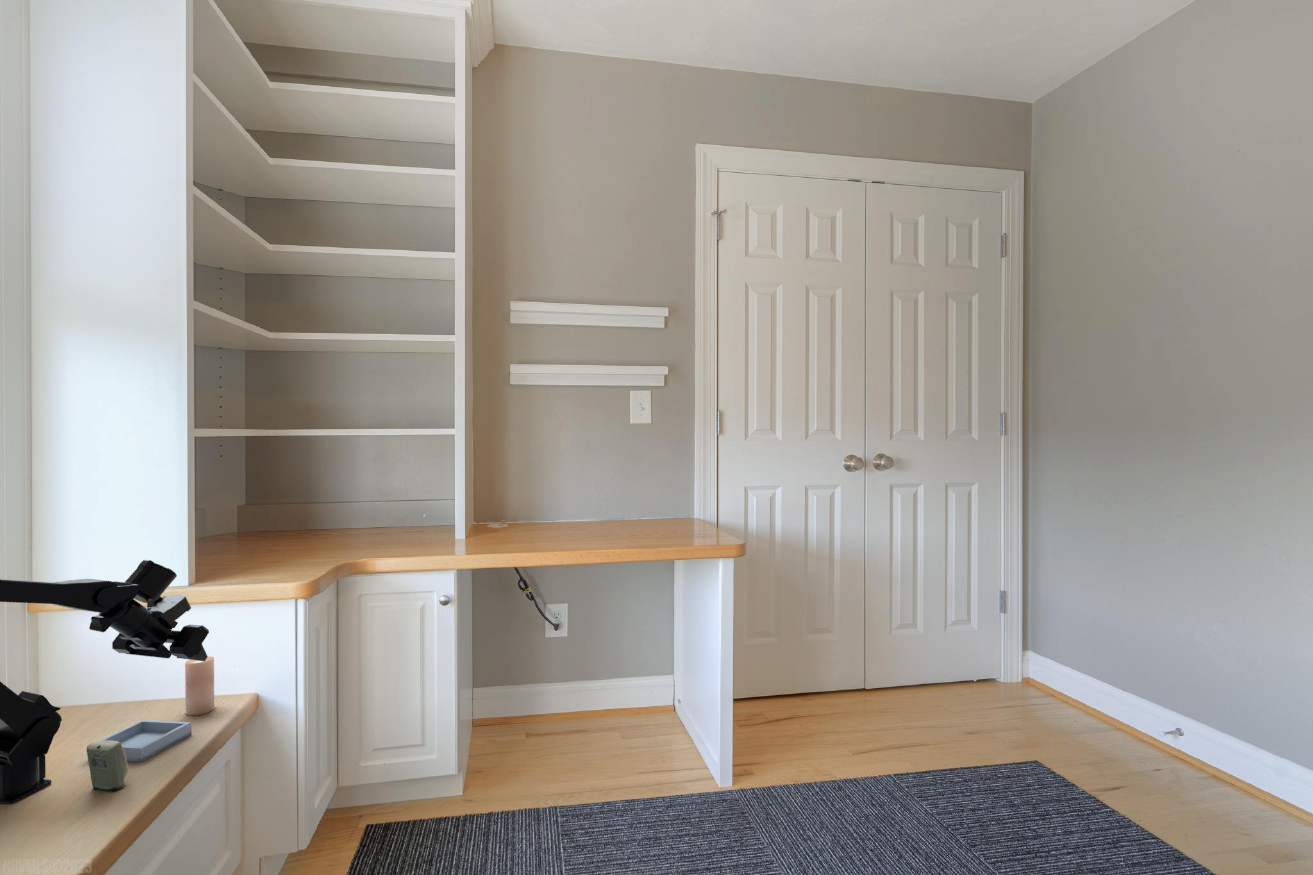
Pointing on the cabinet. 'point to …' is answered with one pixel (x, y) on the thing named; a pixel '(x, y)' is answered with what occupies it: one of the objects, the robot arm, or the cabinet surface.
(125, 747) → the tray
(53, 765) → the cabinet surface
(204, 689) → the peach rounded peg
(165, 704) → the cabinet surface
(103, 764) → the power adapter
